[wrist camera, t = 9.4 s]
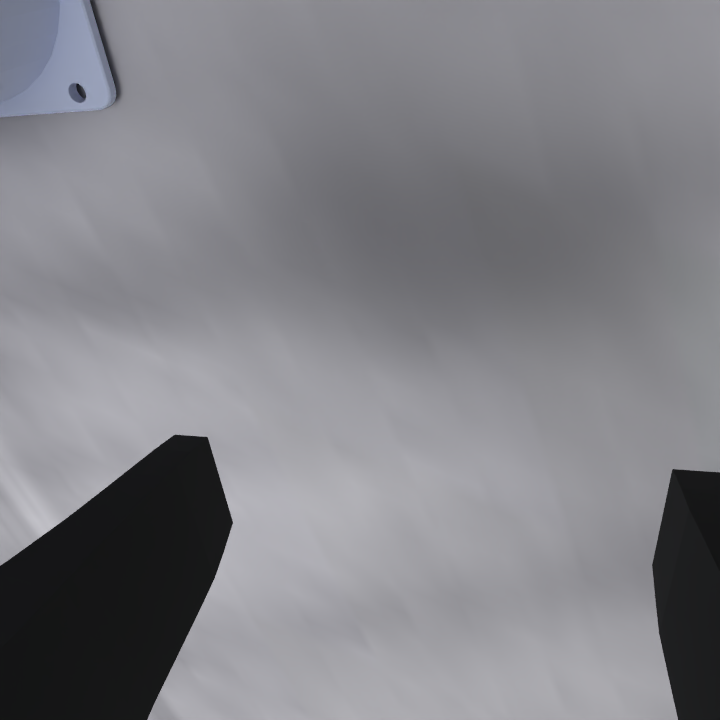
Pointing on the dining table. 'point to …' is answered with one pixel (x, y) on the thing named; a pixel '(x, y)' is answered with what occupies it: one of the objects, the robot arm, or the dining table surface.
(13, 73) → the robot arm
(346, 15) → the dining table surface
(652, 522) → the dining table surface
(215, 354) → the dining table surface
